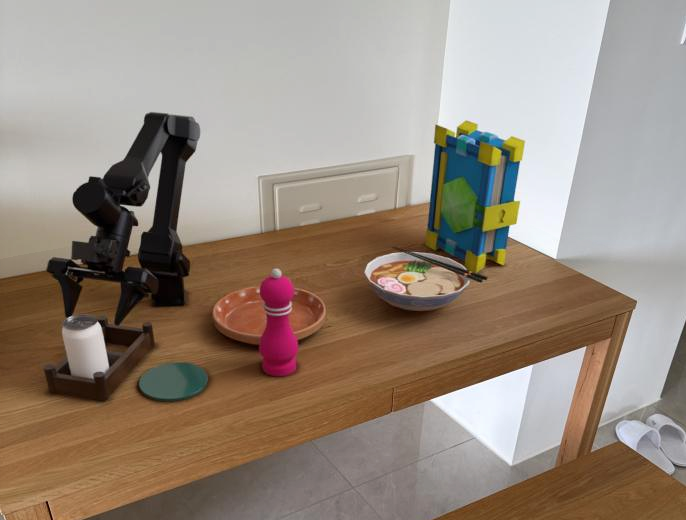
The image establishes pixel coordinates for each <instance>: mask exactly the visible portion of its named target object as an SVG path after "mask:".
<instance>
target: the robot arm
mask: <svg viewBox="0 0 686 520" xmlns="http://www.w3.org/2000/svg"><path fill="white" fill-rule="evenodd" d="M200 126H201V125H200V123H198V122H197V121H196V119H195V117H193V116H192V115H191V116H190V115H183V114H182V115H180V114H170V113H165V112H156V111H149V112H146V113H145V114H144V117H143V124H142V126H141V128H140V129H139V131H138V133H137V135H136V137H135V139H134V141H133V142H132V144H131V146H130V148H129V150H128V151H127V153H126V154H125V157H124V158H123V159H122V160H120V161H118V162H115V163H114V164H112V165H111V166H110V168H109V169H108V170H107V171H106V172H105V174H104V175H103V177H100V176H91V175H90V176H88V180H87V181H86V182H84V183H82V184H81V185H79V186H78V187H77V188H76V189H75V191H73V193H72V199H71V200H72V204H73V207H74V208H75V209H76V211H78V212H79V213H80V214H81V215H82V216H83V217H84V218H86V220H87V221H89V222H90V223H91V224H92V225H93V226H94V227H97V228H96V232H95V235H90V237H89V238H88V242H86V241H79V240H78V241H77V240H72V241H71V255H70V256H71V257H70V258H63V257H55V256H53V257H51V258H50V259H49V260H48V261H47V263H46V268H45V271H46V272H47V273H49V274H50V275H51V277H52V278H53V279H55V280H56V281H57V282H58V284H59V286H60V289H61V290H60V291H61V294H62V299H63V309H64V317H65V319H66V318H68V317H70V316H73V315H74V312H75V310H76V307H77V304H78V301H79V298H80V295H81V292H82V290H83V285H81V283H82V282H83V281H84V279H89V280H96V281H103V282H110V283H120V297H119V300H118V304H117V307H116V310H115V315H114V321H113V324H114V325H117V326H119V325H121V323H122V322H123V321H124V320H125V319H126V318H127V316H128V315H129V314H130V313H131V311H132V310H133V309H134V308H135V307H136V306H137V305H138V304H139V303H140V302H141V301H142V300H143V299H144V298H149V297H150V295H151V300H153V306H154V307H161V306H167V307H168V306H185V305H186V300H187V299H186V298H187V290H186V289H185V287H186V286H185V279H184V278H186V277H189V276H190V271H191V261H190V259H189V258H188V257H187V256H186V255H185V254H184V252H183V244H182V241H181V239H180V236H179V235H178V232H177V231H178V223H179V214H180V209H181V200H182V194H183V186H184V180H185V172H186V165H187V162H188V161H189V160H190V158H191V157H192V156H193V155H194V154H195V153H196V151H197V145H198V142H199V140H200V138H201V127H200ZM160 154H161V159H160V160H161V162H160V168H159V176H158V184H157V190H156V196H155V199H156V200H155V203H154V204H155V205H154V213H153V219H152V225H151V227H150V228H149V229H148V230H147V231H143V232H142V233H141V235H140V245H139V248H138V253H137V260H138V263H139V266H140V267H136V266H127V267H126V268H125V269H124V270H123V268H124V265H125V260H126V258H130V255H131V251H130V250H129V244H130V240H131V235H132V231H133V229H134V228H133V227H138V226H139V220H138V219H137V217H136V215H135V211H134V210H129V209H128V208H126V207H125V206H129V207H137V208H141V207H143V206H144V204H145V203H146V201H147V199H148V197H149V193H150V190H151V185H150V181H149V177H150V173H151V171H152V170H153V167H154V166H155V163H156V162H157V160H158V158H159V156H160ZM78 260H80V263H82V265H84V266H80V264H77V262H75V261H78ZM85 265H86V266H87V267H86V266H85Z"/></svg>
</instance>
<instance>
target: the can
mask: <svg viewBox="0 0 686 520" xmlns="http://www.w3.org/2000/svg"><path fill="white" fill-rule="evenodd" d="M97 318H98V317H97V316H95V315H94V314H89V313H78V314H72V316H70V317H68V318H66V317H65V319H64V320H63V321H62V330H61V335H62V340H63V344H64V349H65V354H66V356H67V358H68V363H69V367H70V371H71V375H72V376H79V377H85V378H92V379H94V377H93V374H94V373H96V372H103V373H105V372H106V371H107V370H108V369H109V363H108V358H107V353H106V350H107V347H106V344H105V342H104V337H103V332H102V328H101V325H100V324H99V323H98V320H97Z"/></svg>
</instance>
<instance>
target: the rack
mask: <svg viewBox="0 0 686 520" xmlns="http://www.w3.org/2000/svg"><path fill="white" fill-rule="evenodd" d="M96 318H97V321H98V323H99V324H100V325H101V328H102V332H103V337H104V342H105V345H107V344H108V343H112V344H118V345H126V346H129V347H128V348H127V349H126V350H125V351H124V352H121V351H114V350H108V349H106V353H107V358H108V363H109V369H108V370H107V371H106V372H105V373H103V372H96V373H94V374H93V377H94V379H92V378H85V377H79V376H72V375H71V371H70V367H69V363H68V358H67V355H66V356H65V357H64V358H63V359H62V360H60V362H59V363H57V364H56V366H55V364H52V363H48V364H45V365H44V366H43V372H44V376H45V380H46V385H47V388H48V391H49V394H52V395H55V394H59V395H65V396H72V397H78V398H84V399H89V400H97V401H99V402H106V401H108V400H109V399H110V396H111V395H112V394H113V392H115V390H117V388H118V387H119V386H120V385H121V384H122V383H123V381H125V380H126V378H128V376H129V375H130V374H131V372H132V371H133V370H134V369H135V368H136V367H137V366H138V365H139V363H140V362H141V361H142V360H143V359H144V358H145V357H146V356H147V355H148V353H149V352H150V351H151V350H152V349H154V348H155V347H156V342H155V336H154V329H153V323H152V322H151V321H144V322H142V323H141V327H135V326H127V325H121V324H120V325H119V326H117V325H115V324H114V323H109V321H108V316H107V315H99V316H98V317H96Z"/></svg>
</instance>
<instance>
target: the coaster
mask: <svg viewBox="0 0 686 520" xmlns="http://www.w3.org/2000/svg"><path fill="white" fill-rule="evenodd" d="M208 376H209V375H208V374H207V371H205V370H204V369H203V368H202V367H201V366H199V365H196V364H193V363H189V362H168V363H163V364H159V365H157V366H154V367H152V368H150V369H148V370H147V371H145V372H144V373H143V374H142V375H141V376H140V378H139V381H138V386H139V391H140V392H141V394H142V395H144V396H145V397H146V398H148V399H151V400H153V401H159V402H179V401H184V400H188V399H190V398H193V397H195V396H197V395H198V394H200V393H202V392H203V391H204V389H206V388H207V385H208V383H209V382H208V381H209V379H208V378H209V377H208Z"/></svg>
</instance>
